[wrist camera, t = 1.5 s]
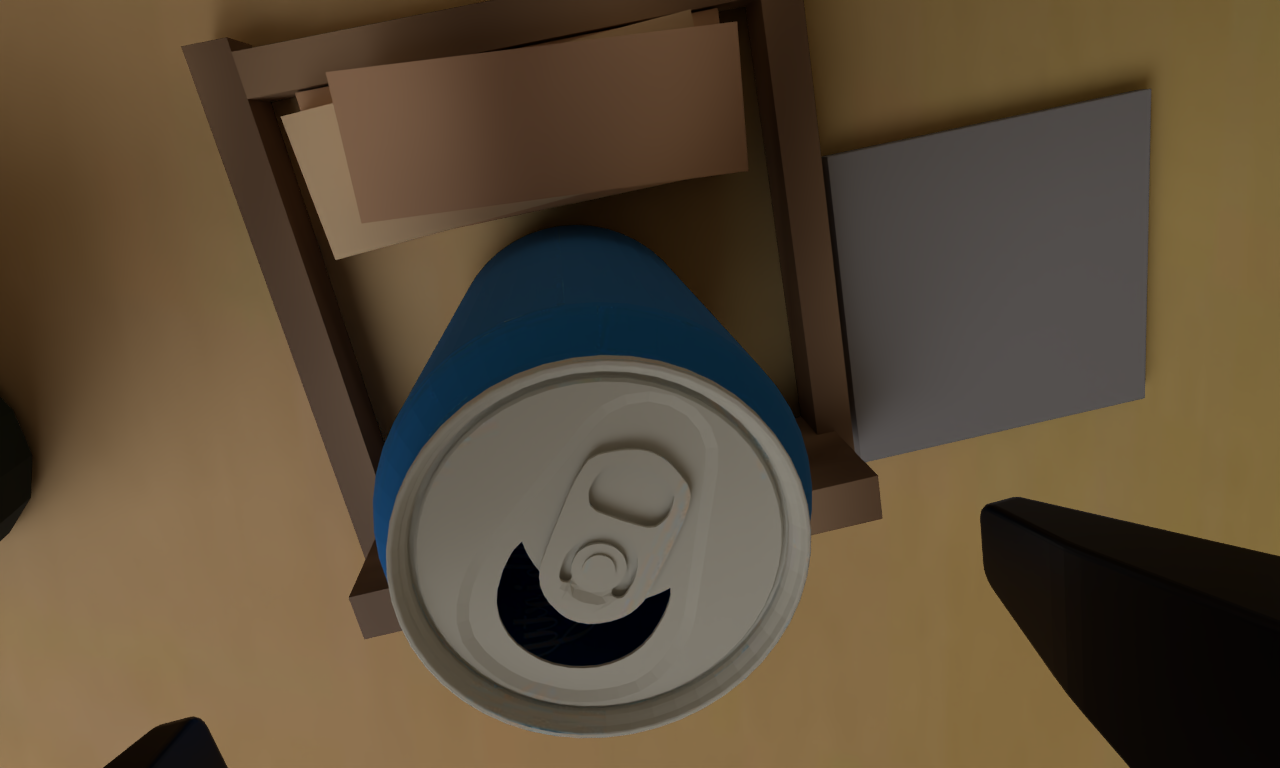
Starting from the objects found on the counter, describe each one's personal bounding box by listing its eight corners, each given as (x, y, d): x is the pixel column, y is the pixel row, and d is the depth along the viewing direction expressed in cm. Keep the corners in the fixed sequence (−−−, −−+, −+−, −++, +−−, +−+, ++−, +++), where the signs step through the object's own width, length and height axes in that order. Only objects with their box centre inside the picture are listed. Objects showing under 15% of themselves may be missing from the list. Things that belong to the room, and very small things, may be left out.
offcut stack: (707, 16, 19) (742, -13, 16) (729, 167, 20) (768, 173, 17) (308, 96, 19) (251, 86, 15) (355, 246, 20) (312, 270, 16)
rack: (776, -59, 19) (842, -117, 15) (837, 445, 23) (901, 514, 19) (209, 53, 18) (105, 27, 14) (383, 549, 23) (343, 644, 18)
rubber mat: (1137, 90, 21) (1151, 88, 20) (1133, 392, 24) (1144, 398, 23) (821, 156, 21) (827, 157, 20) (855, 456, 23) (861, 463, 23)
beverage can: (427, 402, 21) (287, 698, 10) (506, 183, 20) (444, 241, 9) (638, 474, 23) (724, 805, 12) (727, 274, 21) (927, 429, 10)
